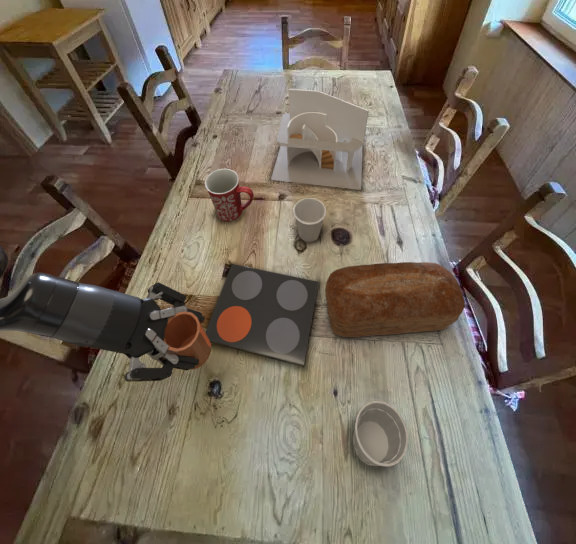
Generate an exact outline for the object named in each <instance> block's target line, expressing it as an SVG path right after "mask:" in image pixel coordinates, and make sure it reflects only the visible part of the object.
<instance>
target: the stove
mask: <svg viewBox="0 0 576 544" xmlns="http://www.w3.org/2000/svg"><path fill="white" fill-rule="evenodd" d="M319 283H320V282H319V281H317V280H311V279H306V278H301V277H297V276H292V275H289V274H283V273H278V272H272V271H268V270H264V269H259V268H254V267H249V266H244V265H239V264H235V263H231V265H230V267H229V270H228V273H227V275H226V277H225V280H224V283H223V286H222V288H221V291H220V293H219V296H218V298H217V302H216V304H215V306H214V309H213V312H212V313H211V314H212V315H211V317H210V319H209V322H208V325H207V327H206V330H205V332H206V334H207V336H208V338H209V340H210V342H211V345H212V344H213V345H217V346H221V347H225V348H227V349H232V350H235V351H240V352H243V353H248V354H251V355H256V356H259V357H264V358H267V359H270V360H275V361H279V362H283V363H287V364H290V365H293V366H298V367H303V368H304V367H305V363H306V357H307V351H308V346H309V340H310V335H311V329H312V323H313V317H314V313H315V305H316V303H317V301H316V300H317V296H318V290H319V286H320V285H319Z"/></svg>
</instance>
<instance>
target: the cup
mask: <svg viewBox="0 0 576 544" xmlns="http://www.w3.org/2000/svg"><path fill="white" fill-rule="evenodd" d="M408 433H409V432H408V428H407V425H406V422H405V420H404V419H403V417H402V414H401V413H400V412H399V411H398V410H397V409H396V408H395V407H394V406H392V405H391V404H389V403H388V402H385V401H382V400H372V401H369V402H366V403H365V404H364V405H363V406H362V407H361V408H360V409H359V411H358V413H357V414H356V418H355V425H354V431H353V434H352V445H353V449H354V452H355V454H356V455H357V457H358V459H359V460H360V461H361V462H363V463H364V464H365V465H366V466H370V467H377V466H378V467H392V466H395V465H397V464H398V463H399V462H401V461H402V460H403V458H404V457H405V455H406V453H407V450H408V446H409V434H408Z"/></svg>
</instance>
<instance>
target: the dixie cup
mask: <svg viewBox="0 0 576 544" xmlns="http://www.w3.org/2000/svg"><path fill="white" fill-rule="evenodd" d="M292 214H293V216H294V219H295V223H296V228H297V232H298V236H299V238H300V239H301V240H302V241H304V242H309V243H311V242H314V241H316V240H317V239H318V238H319V237H320V234H321V230H322V226H323V223H324V220H325V218H326V215H327V208H326V205H325V204H324V203H323V202H322V201H321V200H319V199H318V198H314V197H304V198H302V199H301V198H300V199H299V200H298V201H296V203H295V204H294V206H293V208H292Z"/></svg>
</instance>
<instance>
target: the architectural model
mask: <svg viewBox="0 0 576 544" xmlns="http://www.w3.org/2000/svg"><path fill="white" fill-rule="evenodd" d="M288 107H289V108H288V110H289V112H288V113H287V112H285V113H283V114H282V115H281V119H280V123H279V127H278V132H277V137H276V144H277V145H278V146H280V147H279V150H278V154H277V157H276V160H275V164H274V167H273V171H272V173H271V178H270V180H271V181H277V182H285V183H295V184H305V185H312V186H313V185H314V186H322V187H331V188H340V189H351V190H360V191H362V174H363V149H364V148H363V147H364V146H363V145H364V144H365V143H366V142H367V138H368V136H367V135H366V131H367V125H368V120H369V119H368V118H369V113H370V110H369V109H367V108H365V107H363V106H359V105H357V104H354V103H351V102H349V101H346V100H344V99H342V98H339V97H336V96H333V95H331V94H328V93H326V92H322V91H320V90H314V89H313V90H312V89H298V88H288Z"/></svg>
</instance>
